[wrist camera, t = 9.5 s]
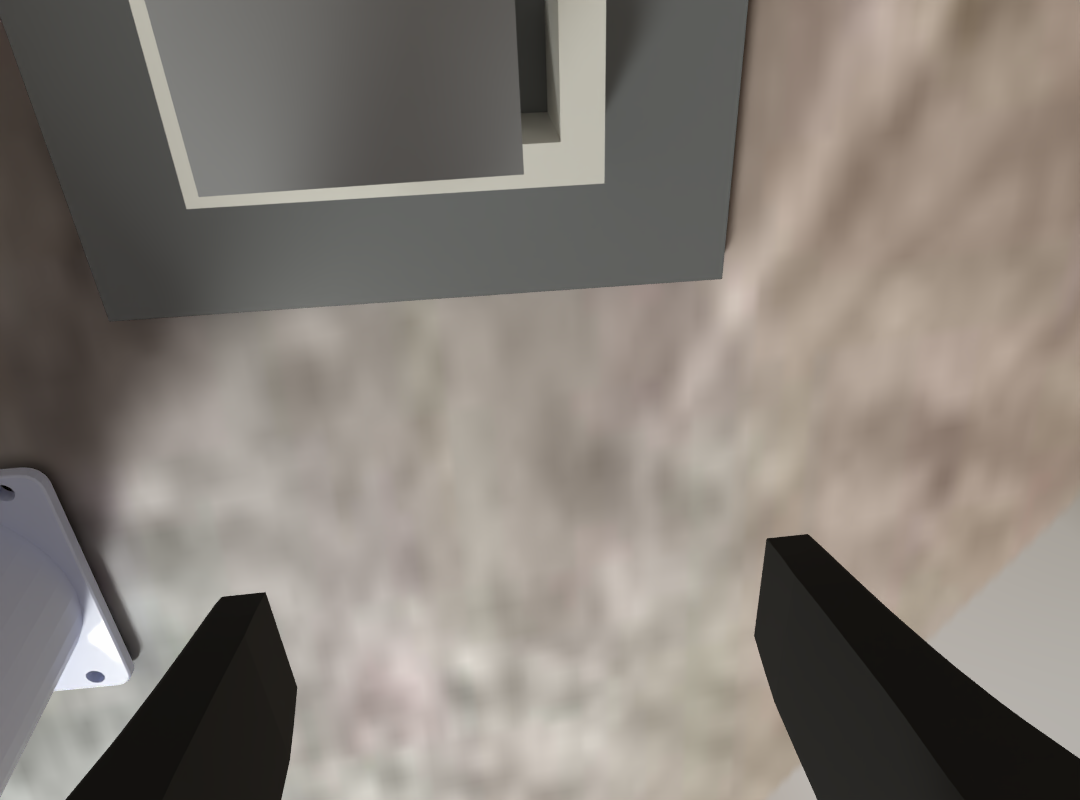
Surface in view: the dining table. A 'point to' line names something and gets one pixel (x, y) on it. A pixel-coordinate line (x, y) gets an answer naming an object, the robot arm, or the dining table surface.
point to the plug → (341, 91)
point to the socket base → (403, 208)
